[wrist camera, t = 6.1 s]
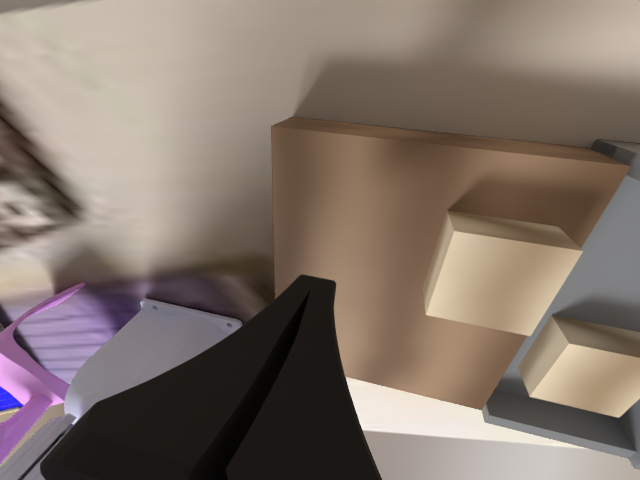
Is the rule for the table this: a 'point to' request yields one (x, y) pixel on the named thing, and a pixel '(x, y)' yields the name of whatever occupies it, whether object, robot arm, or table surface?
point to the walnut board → (416, 237)
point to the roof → (8, 396)
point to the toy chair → (27, 380)
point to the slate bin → (595, 307)
